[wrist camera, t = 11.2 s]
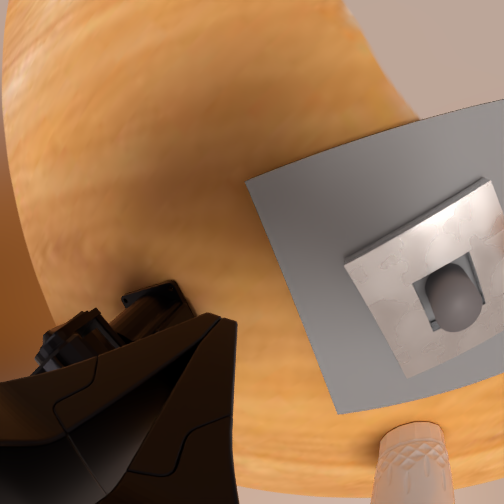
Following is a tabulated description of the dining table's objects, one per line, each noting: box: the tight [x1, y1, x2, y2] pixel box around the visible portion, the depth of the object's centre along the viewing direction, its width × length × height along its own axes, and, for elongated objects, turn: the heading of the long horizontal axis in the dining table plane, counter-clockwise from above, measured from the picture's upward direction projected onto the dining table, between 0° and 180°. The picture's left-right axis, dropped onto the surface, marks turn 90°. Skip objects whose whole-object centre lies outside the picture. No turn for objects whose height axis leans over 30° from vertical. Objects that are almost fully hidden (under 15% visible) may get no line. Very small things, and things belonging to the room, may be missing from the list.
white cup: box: [370, 422, 455, 504], centre depth 19 cm, size 8×8×10 cm
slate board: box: [245, 99, 504, 415], centre depth 16 cm, size 20×20×4 cm
